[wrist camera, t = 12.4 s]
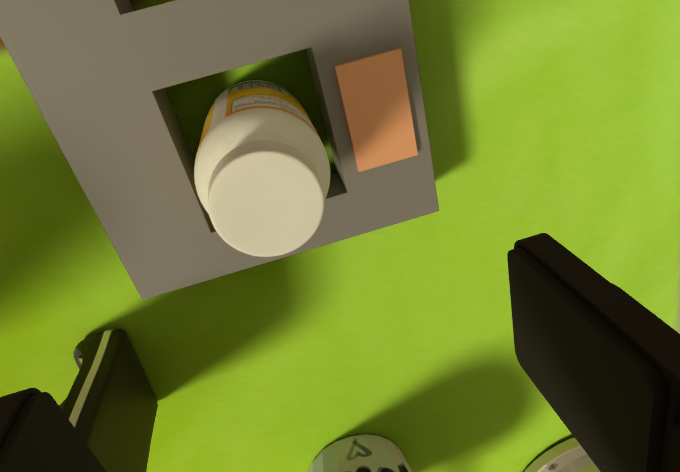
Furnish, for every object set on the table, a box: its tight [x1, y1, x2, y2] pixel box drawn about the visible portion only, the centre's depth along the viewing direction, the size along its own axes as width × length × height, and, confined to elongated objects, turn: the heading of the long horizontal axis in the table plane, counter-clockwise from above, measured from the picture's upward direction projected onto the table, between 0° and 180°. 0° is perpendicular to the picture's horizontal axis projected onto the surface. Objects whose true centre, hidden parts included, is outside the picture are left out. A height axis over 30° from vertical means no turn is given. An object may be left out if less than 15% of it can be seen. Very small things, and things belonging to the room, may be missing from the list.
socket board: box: [0, 0, 439, 300], centre depth 21 cm, size 16×22×3 cm
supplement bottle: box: [194, 80, 330, 257], centre depth 21 cm, size 5×5×10 cm
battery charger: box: [59, 329, 158, 472], centre depth 25 cm, size 7×4×11 cm, turn 8°
